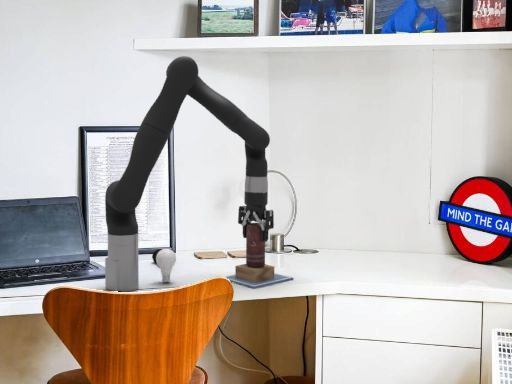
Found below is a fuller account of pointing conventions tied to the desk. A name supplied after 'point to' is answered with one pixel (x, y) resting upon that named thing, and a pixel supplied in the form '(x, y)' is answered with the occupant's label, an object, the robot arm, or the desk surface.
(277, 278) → the board
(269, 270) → the plinth
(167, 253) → the lightbulb
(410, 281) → the desk surface
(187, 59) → the robot arm
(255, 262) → the maroon rounded block
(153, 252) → the microphone
